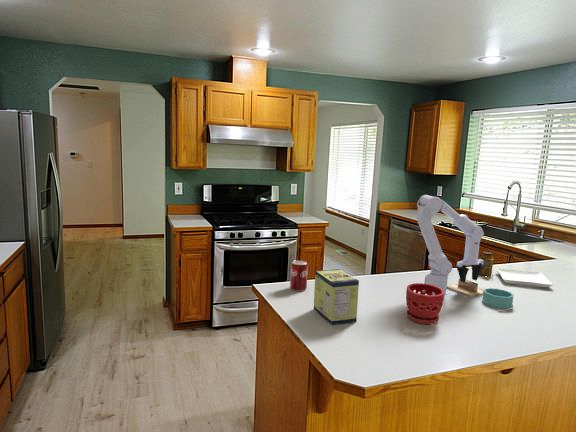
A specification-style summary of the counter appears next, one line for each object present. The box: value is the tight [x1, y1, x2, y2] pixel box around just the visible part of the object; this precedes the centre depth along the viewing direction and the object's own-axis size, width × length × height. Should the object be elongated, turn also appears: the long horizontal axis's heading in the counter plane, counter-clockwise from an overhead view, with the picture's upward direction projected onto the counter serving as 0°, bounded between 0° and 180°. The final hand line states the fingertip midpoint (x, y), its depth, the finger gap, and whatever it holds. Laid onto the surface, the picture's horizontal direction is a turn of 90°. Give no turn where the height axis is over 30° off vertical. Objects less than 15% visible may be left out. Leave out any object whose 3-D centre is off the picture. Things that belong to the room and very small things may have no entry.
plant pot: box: [405, 282, 445, 325], centre depth 151 cm, size 13×13×12 cm
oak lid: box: [447, 278, 484, 298], centre depth 185 cm, size 13×13×4 cm
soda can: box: [289, 260, 309, 292], centre depth 180 cm, size 7×7×12 cm
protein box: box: [313, 268, 360, 326], centre depth 151 cm, size 10×16×16 cm
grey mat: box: [446, 289, 483, 299], centre depth 186 cm, size 15×15×1 cm
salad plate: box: [495, 268, 553, 288], centre depth 205 cm, size 21×21×3 cm
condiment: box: [478, 251, 495, 279], centre depth 213 cm, size 7×8×12 cm
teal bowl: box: [481, 287, 515, 310], centre depth 171 cm, size 11×11×5 cm
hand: (468, 280), depth 185 cm, fingers open, 7 cm apart
